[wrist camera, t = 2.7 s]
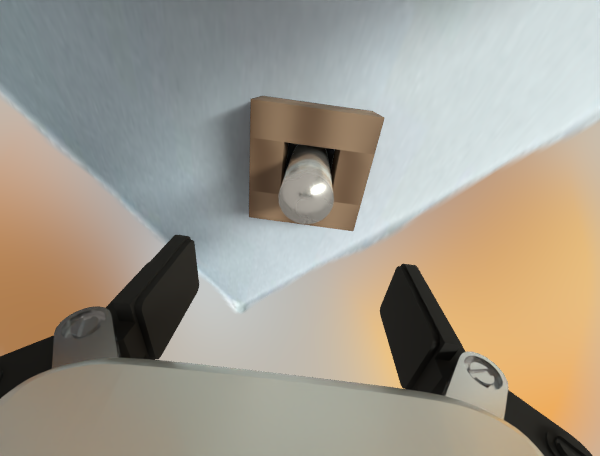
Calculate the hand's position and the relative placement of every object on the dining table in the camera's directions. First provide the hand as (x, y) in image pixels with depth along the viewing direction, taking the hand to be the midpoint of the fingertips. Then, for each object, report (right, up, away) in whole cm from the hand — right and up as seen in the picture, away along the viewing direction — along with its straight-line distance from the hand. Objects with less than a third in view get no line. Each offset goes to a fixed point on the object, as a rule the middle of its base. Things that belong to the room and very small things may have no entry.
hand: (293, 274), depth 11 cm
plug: (+1, +10, +16) cm, 19 cm away
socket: (+1, +10, +16) cm, 19 cm away
